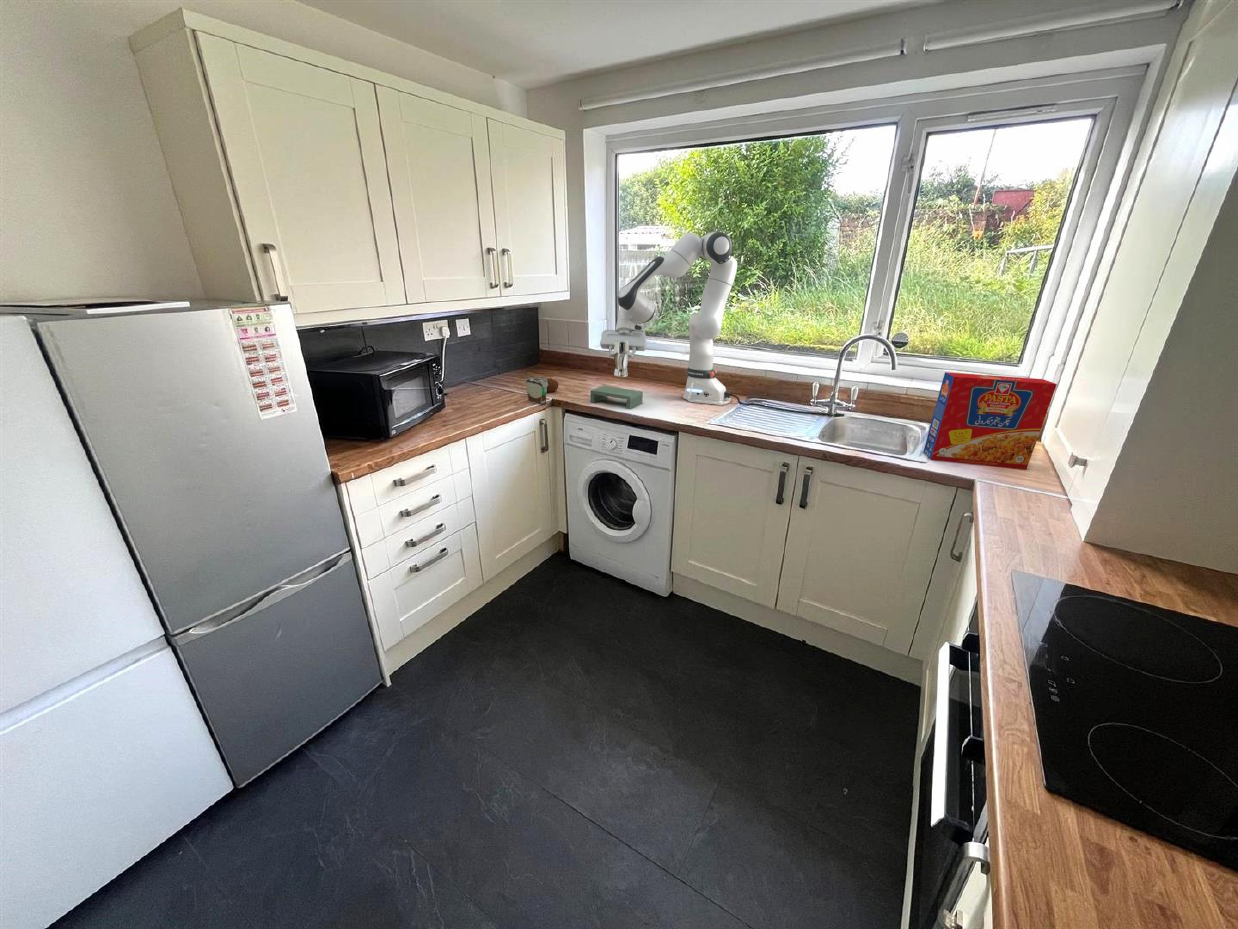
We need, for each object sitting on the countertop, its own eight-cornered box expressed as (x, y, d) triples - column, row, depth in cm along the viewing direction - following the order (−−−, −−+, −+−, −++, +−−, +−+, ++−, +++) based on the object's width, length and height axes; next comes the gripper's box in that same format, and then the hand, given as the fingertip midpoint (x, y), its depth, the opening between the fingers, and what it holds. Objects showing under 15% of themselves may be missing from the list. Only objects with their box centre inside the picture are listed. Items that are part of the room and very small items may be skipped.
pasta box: (930, 459, 166) (954, 376, 156) (923, 452, 174) (944, 372, 163) (1026, 469, 160) (1057, 384, 150) (1014, 461, 168) (1042, 379, 158)
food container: (554, 403, 218) (554, 381, 214) (543, 405, 214) (542, 382, 210) (537, 398, 226) (536, 376, 222) (526, 400, 222) (525, 378, 218)
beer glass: (617, 373, 223) (618, 339, 217) (631, 375, 220) (632, 340, 214) (609, 375, 217) (610, 340, 212) (623, 377, 214) (625, 342, 209)
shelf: (642, 403, 224) (642, 391, 222) (629, 409, 214) (630, 396, 212) (603, 397, 233) (604, 385, 231) (590, 402, 223) (590, 390, 221)
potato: (562, 390, 242) (562, 377, 240) (548, 394, 233) (548, 381, 231) (552, 388, 245) (552, 375, 243) (538, 393, 236) (537, 379, 233)
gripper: (601, 324, 219) (596, 350, 213) (647, 327, 216) (644, 353, 211) (603, 334, 225) (598, 359, 219) (648, 336, 222) (644, 362, 216)
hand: (621, 356), depth 215 cm, fingers closed on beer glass, 7 cm apart
